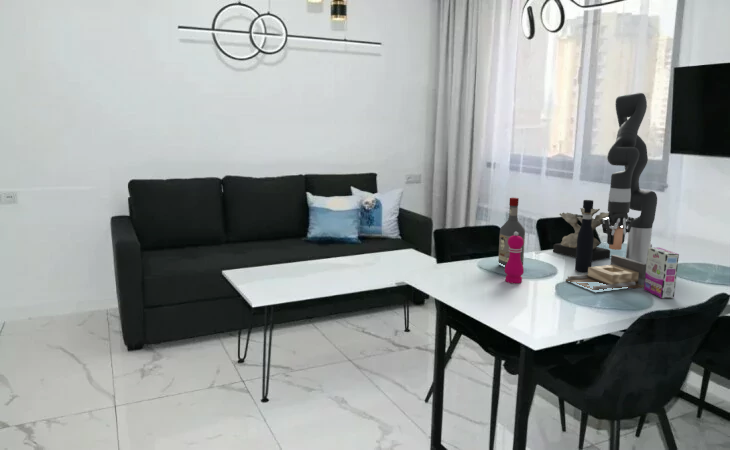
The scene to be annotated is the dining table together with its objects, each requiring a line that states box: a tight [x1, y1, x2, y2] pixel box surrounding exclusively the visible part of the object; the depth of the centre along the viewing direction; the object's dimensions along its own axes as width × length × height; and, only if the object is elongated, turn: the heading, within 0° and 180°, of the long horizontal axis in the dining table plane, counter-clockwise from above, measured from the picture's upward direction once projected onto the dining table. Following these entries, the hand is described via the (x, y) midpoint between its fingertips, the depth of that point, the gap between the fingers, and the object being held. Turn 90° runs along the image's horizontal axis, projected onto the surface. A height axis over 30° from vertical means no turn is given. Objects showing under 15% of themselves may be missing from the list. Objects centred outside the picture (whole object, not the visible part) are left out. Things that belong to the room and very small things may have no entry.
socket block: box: [587, 264, 639, 285], centre depth 209 cm, size 13×13×4 cm
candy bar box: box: [643, 247, 680, 300], centre depth 195 cm, size 11×5×16 cm, turn 5°
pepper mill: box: [504, 232, 525, 284], centre depth 211 cm, size 7×7×20 cm
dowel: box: [608, 227, 623, 251], centre depth 206 cm, size 4×4×8 cm
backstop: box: [565, 254, 646, 290], centre depth 208 cm, size 24×16×9 cm
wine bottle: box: [574, 199, 595, 274], centre depth 225 cm, size 6×6×30 cm
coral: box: [552, 207, 611, 262], centre depth 257 cm, size 25×20×22 cm
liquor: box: [498, 197, 526, 266], centre depth 232 cm, size 9×9×30 cm
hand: (615, 243), depth 207 cm, fingers closed on dowel, 4 cm apart
